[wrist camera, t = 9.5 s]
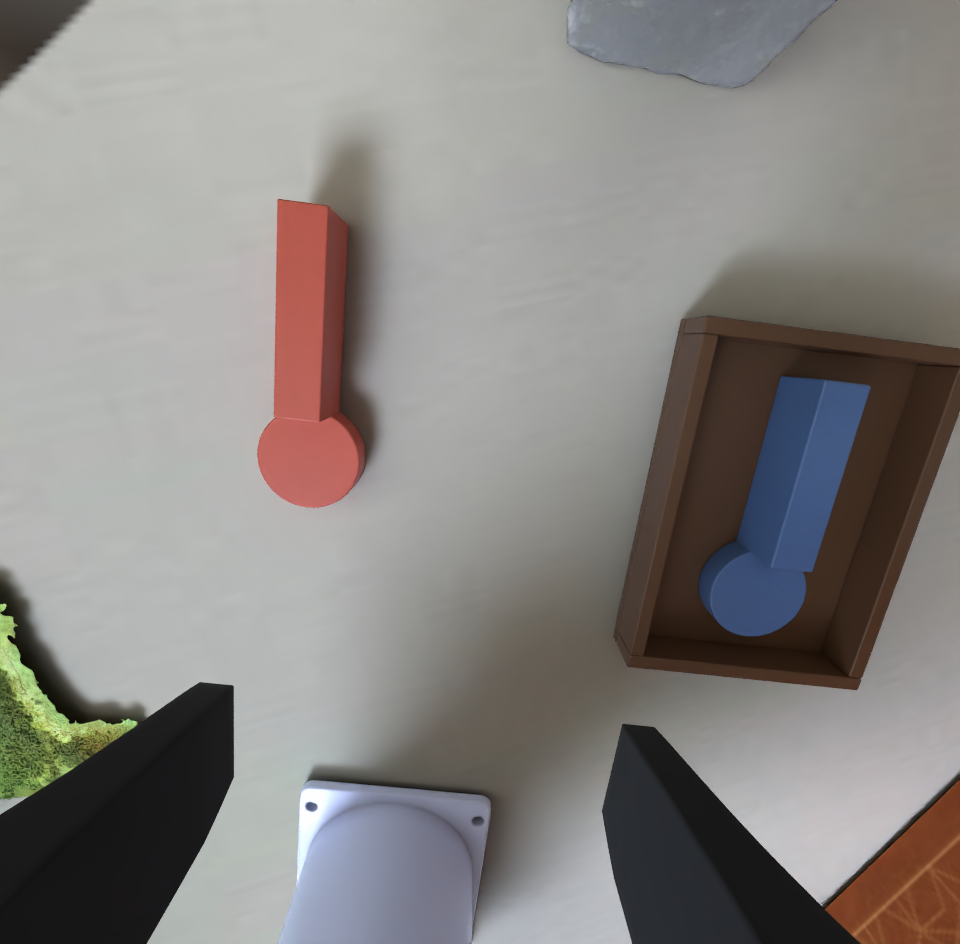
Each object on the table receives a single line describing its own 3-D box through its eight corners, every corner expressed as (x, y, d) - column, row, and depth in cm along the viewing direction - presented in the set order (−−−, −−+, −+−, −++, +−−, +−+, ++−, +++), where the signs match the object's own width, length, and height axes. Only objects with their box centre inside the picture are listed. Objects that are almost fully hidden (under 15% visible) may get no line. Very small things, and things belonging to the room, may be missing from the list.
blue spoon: (775, 626, 19) (814, 662, 16) (688, 617, 18) (716, 652, 16) (849, 384, 16) (905, 389, 14) (750, 371, 16) (792, 375, 14)
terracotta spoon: (363, 504, 18) (347, 525, 16) (268, 493, 18) (239, 513, 15) (381, 229, 15) (365, 210, 13) (272, 214, 15) (239, 193, 13)
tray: (821, 658, 19) (858, 690, 18) (612, 636, 19) (627, 667, 17) (926, 350, 16) (983, 351, 15) (680, 318, 16) (707, 315, 14)
